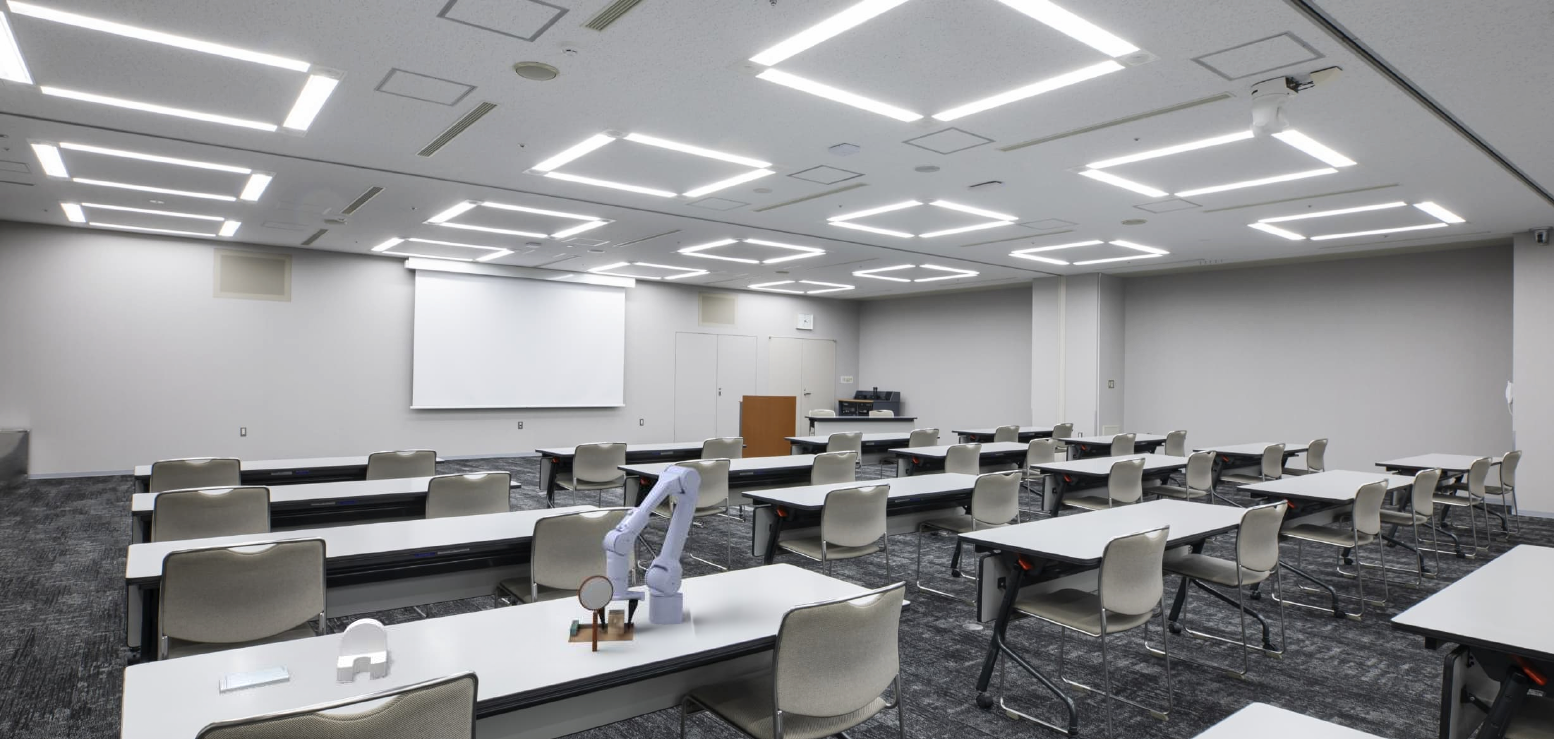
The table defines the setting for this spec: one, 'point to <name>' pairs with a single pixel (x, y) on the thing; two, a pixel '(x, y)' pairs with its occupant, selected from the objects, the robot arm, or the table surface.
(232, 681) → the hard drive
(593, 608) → the magnifying glass
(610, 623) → the beige block with rod
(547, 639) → the table surface
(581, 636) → the board
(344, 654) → the white slotted bracket
